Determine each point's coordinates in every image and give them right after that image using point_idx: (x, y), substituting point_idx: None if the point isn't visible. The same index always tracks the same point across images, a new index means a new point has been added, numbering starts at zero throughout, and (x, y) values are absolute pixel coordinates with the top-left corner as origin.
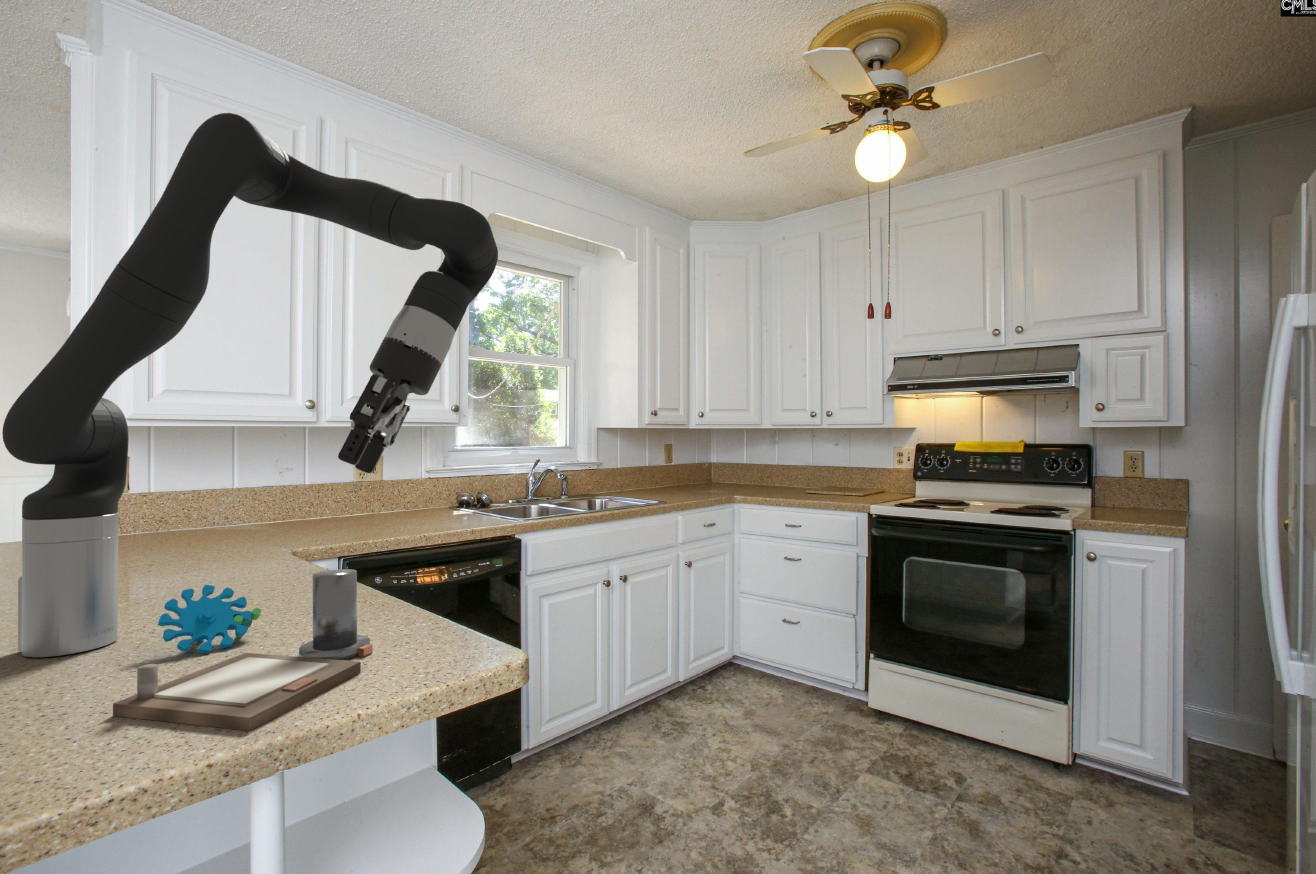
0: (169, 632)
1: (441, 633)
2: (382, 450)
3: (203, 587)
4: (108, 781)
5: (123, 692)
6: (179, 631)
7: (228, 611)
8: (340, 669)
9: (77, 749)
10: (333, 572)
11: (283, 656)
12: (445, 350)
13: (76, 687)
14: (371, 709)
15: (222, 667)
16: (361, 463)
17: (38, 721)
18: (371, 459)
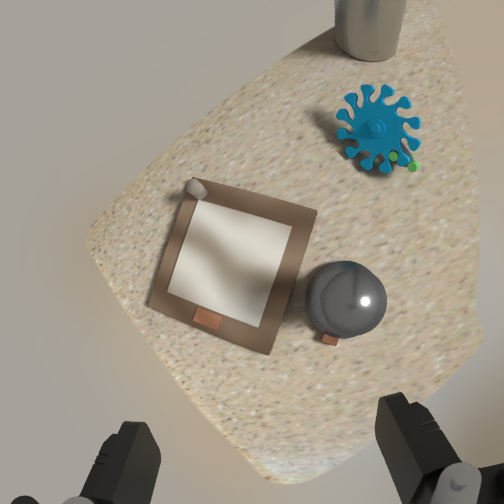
0: (341, 114)
1: None
2: (401, 501)
3: (401, 97)
4: (106, 253)
5: (247, 150)
6: (347, 120)
7: (394, 141)
8: (246, 342)
9: (146, 200)
10: (360, 297)
11: (299, 261)
12: None
13: (264, 106)
14: (180, 385)
15: (260, 217)
16: (384, 420)
17: (197, 135)
18: (390, 455)
